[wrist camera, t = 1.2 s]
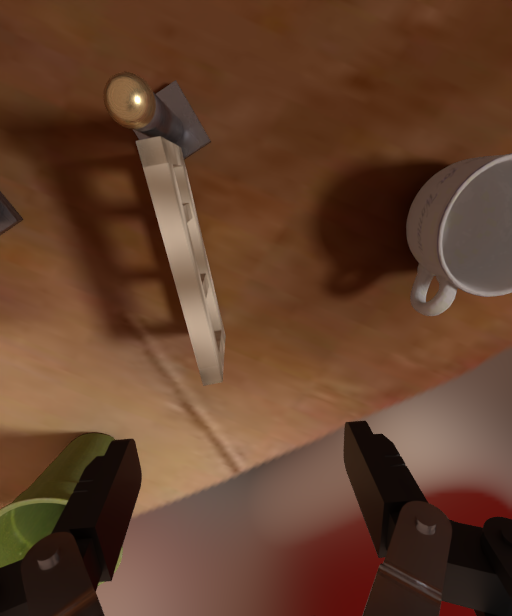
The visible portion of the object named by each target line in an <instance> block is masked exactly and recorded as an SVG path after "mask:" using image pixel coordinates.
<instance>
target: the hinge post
mask: <svg viewBox="0 0 512 616" xmlns="http://www.w3.org/2000/svg"><path fill="white" fill-rule="evenodd" d="M103 97H104V104H105V107H106V109H107V112H108V113H109V115H110V116H111V118H112V119H113V120H114V121H115V122H116V123H118V124H119V125H121V126H123V127H125V128H128V129H133V131H134V132H135V134H136V135H137V137H138V138H139V140H143V139H148V138H153V137H158V136H161V137H163V138H165V139H166V140H168V141H170V142H172V143H174V144H176V145H177V146H179V147H181V150H182V154H183V158H184V159H186V158H187V157H189V156H190V155H192V154H193V153H195V152H196V151H198V150H200V149H201V148H203V147H204V146H206V145H207V144H209V143H210V142H211V141H210V139H209V137H208V136H207V134H206V132H205V130H204V129H203V127H202V125H201V124H200V122H199V120H198V118H197V117H196V115H195V113H194V111H193V110H192V108H191V106H190V104H189V103H188V101H187V99H186V97H185V96H184V94H183V92H182V90H181V89H180V87H179V85H178V83H177V82H176V80H175V81H174V82H172V83H171V84H169V85H168V86H167V87H165V88H164V89H162V90H161V91H159V92H158V93H157V94H155V93H154V92H153V91H152V89H151V88H150V86H149V85H148V83H147V82H146V81H145V80H144V79H142V78H141V77H140V76H138V75H136V74H133V73H130V72H121V73H117V74H115V75H114V76H112V77H111V78H110V79H109V80H108V82H107V83H106V85H105V88H104V96H103Z"/></svg>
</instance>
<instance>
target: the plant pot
mask: <svg viewBox="0 0 512 616" xmlns="http://www.w3.org/2000/svg"><path fill="white" fill-rule="evenodd" d="M112 440H115V439H114V438H113V437H111V436H109V435H105V434H100V433H89V434H84V435H81V436H79V437H77V438H76V439H75V440H73V441H72V442H71V443H70V444H69V445H68V446H67V447H66V448H65V449H64V450H63V451H62V452H61V453H60V455H59V456H58V457H57V458H56V459H55V460H54V461H53V462H52V463H51V464H50V465H49V466H48V467H47V468H46V470H45V471H44V472H43V473H42V474H41V475H40V476H39V477H38V478H37V479H36V480H35V482H34V483H33V484H32V485H31V486H30V487H29V488H28V489H27V490H25V491H24V492H22V493H21V494H20V495H19V496H18V497H17V498H16V499H15V500H14V501H13V502H12V503H11V504H9V505H7V506H5V507H3V508H1V509H0V568H1V567H4V566H6V565H9V564H12V563H14V562H17V561H19V560H21V559H23V558H24V557H25V555H26V554H27V552H28V551H29V550H30V549H31V547H32V546H33V545H34V544H36V543H37V542H38V541H39V540H41V539H42V538H44V537H46V536H48V535H50V534H51V533H52V531H53V529H54V527H55V525H56V523H57V521H58V519H59V517H60V515H61V514H62V512H63V510H64V508H65V506H66V504H67V502H68V500H69V498H70V496H71V494H72V493H73V490H74V488H75V487H76V485H77V483H79V479H80V477H81V475H82V473H83V471H84V469H85V467H86V466H87V465H88V464H89V463H90V462H91V461H92V460H93V459H94V458H95V457H96V456H104V455H105V453H106V451H107V449H108V446H109V444H110V443H111V441H112ZM122 552H123V547H122V548H121V552H120V555H119V558H118V561H117V565H116V568H115V571H116V570H117V568H118V567H119V565H120V562H121V559H122ZM115 571H114V573H115ZM102 583H104V582H99V583H98V586H99V585H100V584H102Z"/></svg>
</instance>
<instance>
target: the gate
mask: <svg viewBox="0 0 512 616" xmlns="http://www.w3.org/2000/svg"><path fill="white" fill-rule="evenodd" d="M136 144H137V148H138V151H139V155H140V159H141V162H142V166H143V170H144V173H145V177H146V180H147V184H148V188H149V191H150V195H151V198H152V202H153V206H154V209H155V213H156V216H157V220H158V224H159V227H160V231H161V234H162V238H163V242H164V245H165V249H166V253H167V256H168V260H169V263H170V267H171V271H172V274H173V278H174V281H175V285H176V289H177V292H178V296H179V299H180V303H181V307H182V310H183V314H184V318H185V321H186V325H187V328H188V332H189V336H190V339H191V343H192V346H193V350H194V354H195V357H196V361H197V364H198V368H199V372H200V375H201V379H202V383H203V386H204V385H210V384H215V383H220V382H222V381H223V366H224V350H225V332H224V327H223V323H222V319H221V315H220V310H219V306H218V302H217V298H216V294H215V289H214V285H213V281H212V277H211V272H210V268H209V264H208V260H207V255H206V251H205V247H204V243H203V239H202V234H201V230H200V226H199V222H198V217H197V213H196V209H195V205H194V200H193V196H192V192H191V188H190V184H189V179H188V175H187V171H186V167H185V162H184V158H183V154H182V150H181V147H179V146H177V145H176V144H174V143H172V142H170V141H168V140H166V139H165V138H163V137H161V136H158V137H153V138H148V139H143V140H138V141H136Z"/></svg>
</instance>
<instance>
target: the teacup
mask: <svg viewBox="0 0 512 616" xmlns="http://www.w3.org/2000/svg"><path fill="white" fill-rule="evenodd" d="M406 236H407V241H408V245H409V248H410V250H411V252H412V254H413V256H414V257H415V259H416V260H417V261H418V262H419V265H418V268H417V272H418V274H417V276H416V279H415V281H414V284H413V287H412V291H411V296H410V298H411V304H412V306H413V308H414V309H415V310H416V311H418V312H419V313H421V314H423V315H427V316H435V315H438V314H440V313H442V312H444V311H445V310H446V309H448V308H449V306H450V305H451V304H452V302H453V300H454V298H455V295H456V292H457V288H459V289H461V290H463V291H465V292H467V293H470V294H474V295H478V296H485V297H489V296H499V295H505V294H508V293H511V292H512V153H511V154H507V155H498V156H486V157H478V158H472V159H466V160H463V161H460V162H457V163H454V164H452V165H450V166H447V167H445V168H444V169H442V170H440V171H439V172H438V173H436V174H435V175H434V176H432V177H431V178H430V179H429V180H428V181H427V182H426V183H425V184H424V185H423V187H422V188H421V189H420V190H419V192H418V193H417V195H416V197H415V198H414V200H413V202H412V204H411V207H410V210H409V213H408V217H407V223H406ZM433 276H437V280H438V282H439V291H438V293H437V294H436V295H435V297H434V298H433V299H432V300H430V301H428V302H426V294H427V290H428V287H429V285H430V282H431V280H432V278H433Z"/></svg>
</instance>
